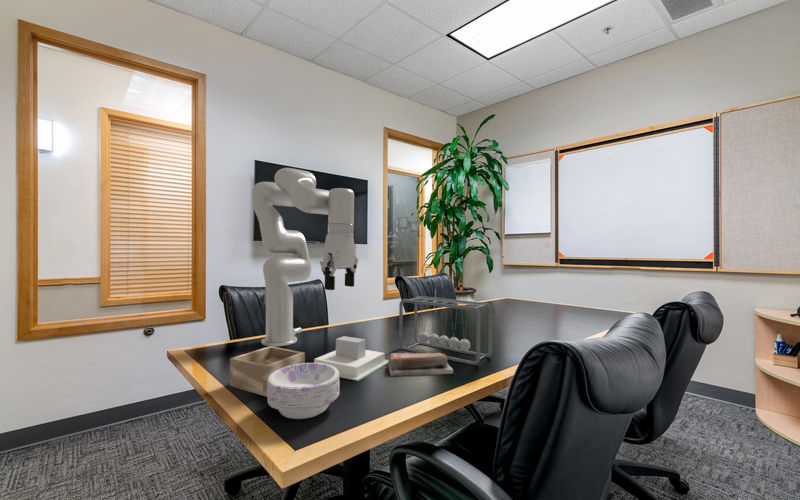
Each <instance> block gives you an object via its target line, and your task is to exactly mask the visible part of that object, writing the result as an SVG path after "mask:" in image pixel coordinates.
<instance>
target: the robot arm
mask: <svg viewBox="0 0 800 500" xmlns="http://www.w3.org/2000/svg"><path fill="white" fill-rule="evenodd" d="M316 187H317V179H316V177H315V176H314V174H313V173H311V171H307V170H303V169H297V168H291V167H283V168H281V169H279V170H277V171H276V173H275V174H274V181H261V182H258V183H255V184H254V185H253V187H252V190H251V204H252V207H253V210H254V212H255V215H256V217H257V220H258V223H259V229H260V235H261V239H262V246H263V249H264V251H265V252H266V253H267V254H268V255H274V256H273V257H269V258H267V259H266V260H265V261H264V263H263V266H262V273H263V278H264V284H265V337H264V338H262V339H261V342H260V343H261V345H262V346H265V347H269V346H273V347H285V346H290V345H293V344H296V343H297V342H298V337H297V336H296V335H297V334H299V333H301V332H303V331H302V328H301V327H296V328H295V327H294V294H293V290H292V289H291V288H290V286H289V284H288V283H292V282H302V281H307V280H308V279H309V278H310V277H311V274H312V273H311V272H312V265H311V260H310V254H309V249H308V245H307V244H308V243H307V241H306V238H305V236H304V234H303V233H302V232H300V231H299V230H294V229H293V230H292V229H286V228H285V225H284V220H283V217H282V216H281V214H280V213H279V211H278V210H277V209H276V208H275V207H274V206H281V207H290V208H292V207H293V208H297V209H298V210H299V211H302V212H304V213H306V214H314V215H315V214H316V215H317V214H319V215H327V216H328V217H327V219H328V220H327V234H326V235H325V240H324V241H325V242H324V248H323V258H322V259H321V260H319V265H320V267H321V271H322V274H323V276H324V290H327V291H334V290H335V289H336V288H335V287H336V286H335V285H336V277H335V273H336V271H337V270H341V269H342V270H343V269H344V271H345V273H344V286H345V287H352V288H353V287H355V274H356V271H357V267H358V263H359V259H358V257H356V250H355V248H356V247H355V238H354V236H355V235H354V232H355V231H354V230H355V226H354V223H355V222H354V221H355V219H354V218H355V193H354V191H353V190H352V189H350V188H343V187H337V188H331V189H330V190H327V189H321V188H316ZM275 255H276V256H275ZM279 255H282V256H279ZM285 255H288V256H285ZM289 255H290V256H289Z"/></svg>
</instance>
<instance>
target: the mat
mask: <svg viewBox="0 0 800 500" xmlns="http://www.w3.org/2000/svg"><path fill="white" fill-rule="evenodd" d="M385 366H388V359H385V361H384V362H382V363H380V364H379V365H377V366H375V367H373V368H372V369H370V370H368V371H366V372H364V373H363V374H361V375H359V376H357V377H356V376H351V375H346V374H342V373H339V378H342V379H347V380H352V381H356V382H359V381H361V380H362V379H364V378H366V377H368V376H369V375H371V374H373V373H375V372H376V371H378V370H380V369H381V368H384V367H385Z"/></svg>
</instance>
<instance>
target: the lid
mask: <svg viewBox="0 0 800 500" xmlns="http://www.w3.org/2000/svg"><path fill="white" fill-rule="evenodd" d="M366 342H367V341H366V338H365V339H364V338H359V337H354V336H353V337H351V336H345V335H343V336H340V337H338V338H336V339H335V350H333V351H330V352H327V353H326V354H323V355H321V356H318V357H316V358H314V359H313V360H314V361H313V363H323V364H328V365H331V366H333V367H335V368H337V369H338V371H339V373H342V374H346V375H351V376H356V377H357V376H359V375H361V374H363V373H364V372H366V371H368V370H370V369H372V368H373V367H375V366H377V365H379V364H380V363H382V362H384V361H385V360H386V356H385V355H386V354H385V352H380V351H375V350H369V349H366V347H367V346H366Z"/></svg>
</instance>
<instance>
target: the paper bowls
mask: <svg viewBox="0 0 800 500" xmlns="http://www.w3.org/2000/svg"><path fill="white" fill-rule="evenodd" d="M267 381H268V382H267V392H268V393H267V396H266V397H267V403H268V405H269V406H270V407H271V408H272V409H275V410H278V412H279V413H280V414H281V415H282V416H283V417H285V418H287V419H293V420H305V419H309V418H314V417H317V416H318V415H321V414H322V413H324V412H325V411H326V410H327V409H328V407H329V406H330V404H332V403H333V402H335V400H336V399H338V397H339V395H340V389H341V388H340V377H339V371H338V369H337V368H335V367H333V366H331V365H328V364H323V363H314V362H305V363H301V364H294V365H290V366H286V367H283V368H280V369H278V370H276V371H274V372H273V373H272V374H271V375H270V376H269V377H268V379H267Z"/></svg>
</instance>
